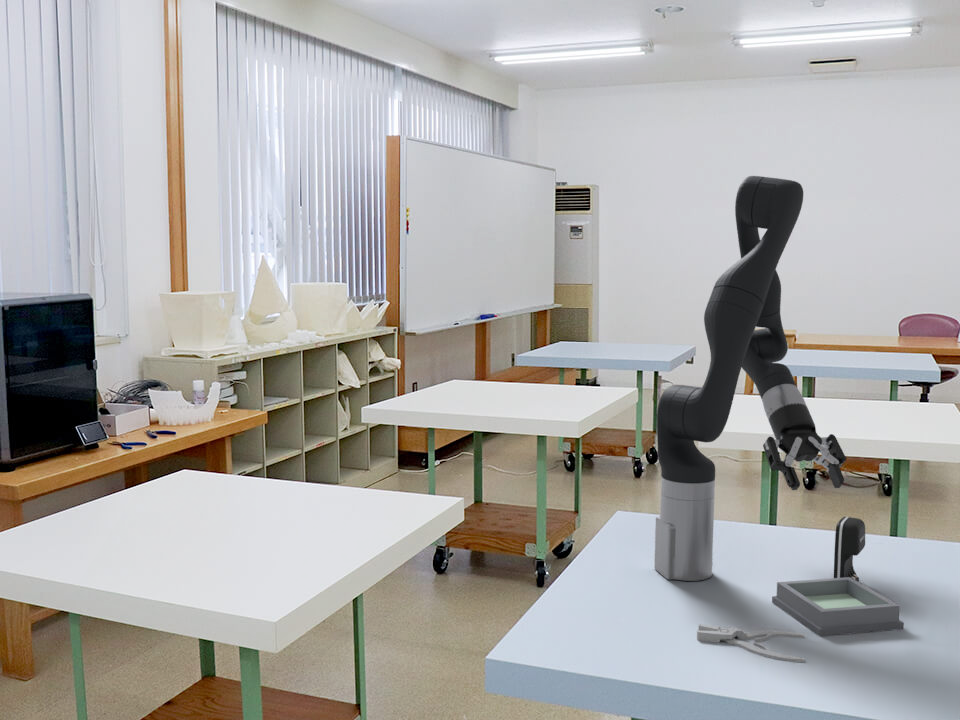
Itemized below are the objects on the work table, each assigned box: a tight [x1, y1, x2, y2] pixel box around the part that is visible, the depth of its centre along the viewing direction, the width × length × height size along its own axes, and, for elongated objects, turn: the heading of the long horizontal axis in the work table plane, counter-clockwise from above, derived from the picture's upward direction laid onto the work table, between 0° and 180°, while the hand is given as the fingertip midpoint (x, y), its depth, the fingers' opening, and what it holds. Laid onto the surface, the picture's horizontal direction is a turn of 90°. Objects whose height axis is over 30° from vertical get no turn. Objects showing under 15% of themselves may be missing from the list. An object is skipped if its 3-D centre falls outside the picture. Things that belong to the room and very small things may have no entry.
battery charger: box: [833, 516, 866, 582], centre depth 162 cm, size 7×4×11 cm, turn 147°
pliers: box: [696, 623, 806, 663], centre depth 139 cm, size 10×2×15 cm
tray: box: [771, 577, 905, 637], centre depth 149 cm, size 14×14×4 cm
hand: (818, 486), depth 172 cm, fingers open, 8 cm apart
